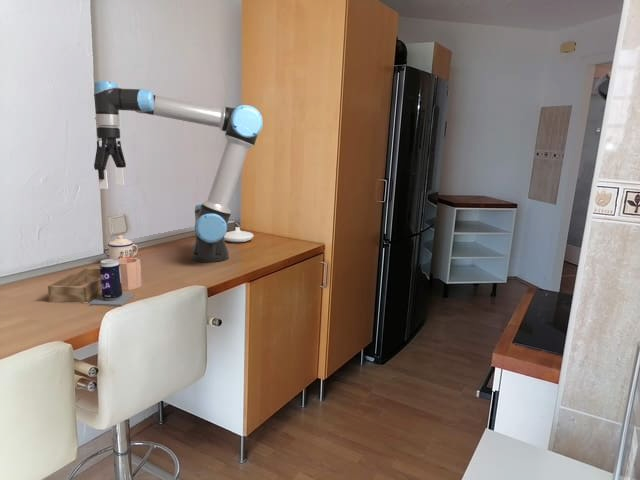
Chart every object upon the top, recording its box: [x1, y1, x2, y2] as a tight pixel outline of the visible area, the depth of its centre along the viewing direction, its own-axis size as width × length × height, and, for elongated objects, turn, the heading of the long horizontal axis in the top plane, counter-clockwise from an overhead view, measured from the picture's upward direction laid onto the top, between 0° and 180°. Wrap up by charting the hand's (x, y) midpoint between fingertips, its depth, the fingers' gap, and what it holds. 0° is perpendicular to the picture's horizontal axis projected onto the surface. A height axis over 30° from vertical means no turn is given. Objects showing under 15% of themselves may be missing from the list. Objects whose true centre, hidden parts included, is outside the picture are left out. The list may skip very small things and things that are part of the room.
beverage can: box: [99, 258, 123, 300], centre depth 143 cm, size 6×6×12 cm
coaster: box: [87, 292, 136, 307], centre depth 144 cm, size 10×10×1 cm
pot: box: [117, 257, 142, 291], centre depth 157 cm, size 8×8×9 cm
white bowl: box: [224, 226, 254, 243], centre depth 232 cm, size 16×16×7 cm
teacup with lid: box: [107, 235, 139, 259], centre depth 184 cm, size 12×9×12 cm
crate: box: [47, 267, 102, 303], centre depth 151 cm, size 12×21×5 cm, turn 179°
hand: (112, 186), depth 170 cm, fingers open, 13 cm apart
